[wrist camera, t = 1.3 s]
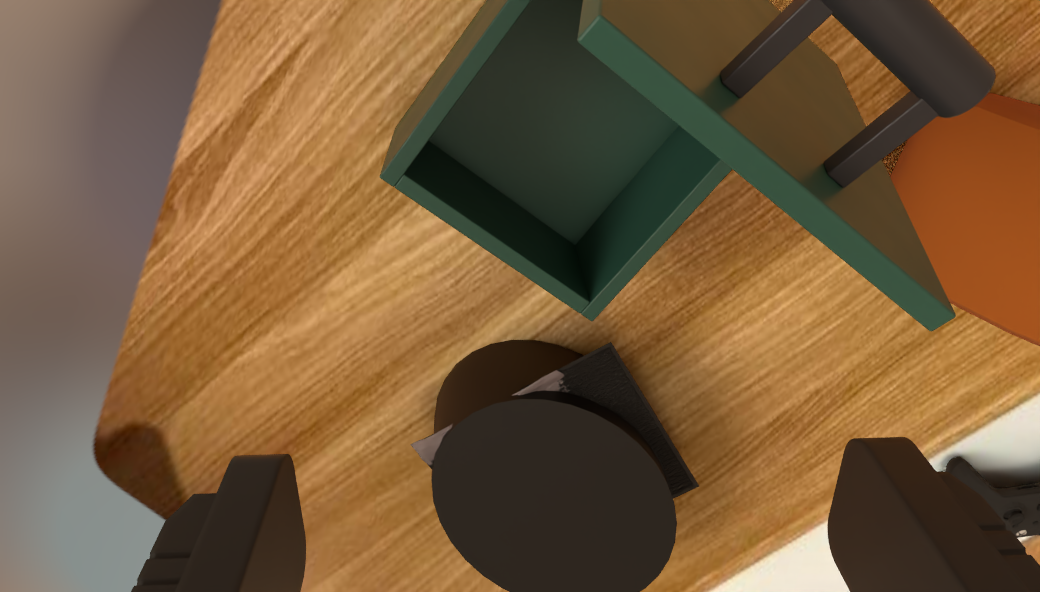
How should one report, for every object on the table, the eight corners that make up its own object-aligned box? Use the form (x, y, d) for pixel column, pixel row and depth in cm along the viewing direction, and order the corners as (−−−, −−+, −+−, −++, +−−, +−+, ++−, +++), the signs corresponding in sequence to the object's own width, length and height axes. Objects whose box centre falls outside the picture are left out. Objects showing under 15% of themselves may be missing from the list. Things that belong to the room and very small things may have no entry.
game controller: (1092, 437, 54) (1124, 529, 52) (1046, 445, 59) (1074, 529, 57) (949, 457, 54) (976, 549, 52) (916, 464, 59) (939, 548, 57)
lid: (931, 333, 22) (1129, 213, 19) (575, 41, 18) (757, -170, 15) (821, 78, 34) (930, -18, 31) (600, -127, 30) (700, -258, 27)
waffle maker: (522, 556, 59) (535, 645, 52) (384, 394, 50) (379, 476, 44) (699, 471, 56) (735, 553, 50) (587, 285, 48) (614, 355, 41)
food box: (575, 256, 46) (592, 322, 40) (394, 129, 42) (378, 177, 36) (766, 37, 41) (825, 69, 34) (581, -133, 37) (605, -136, 30)
